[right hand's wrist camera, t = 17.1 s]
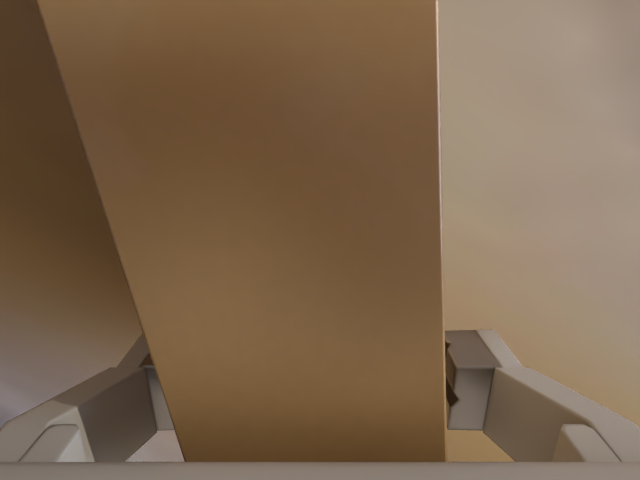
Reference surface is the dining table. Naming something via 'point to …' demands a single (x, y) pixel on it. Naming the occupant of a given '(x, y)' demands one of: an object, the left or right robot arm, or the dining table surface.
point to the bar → (273, 214)
